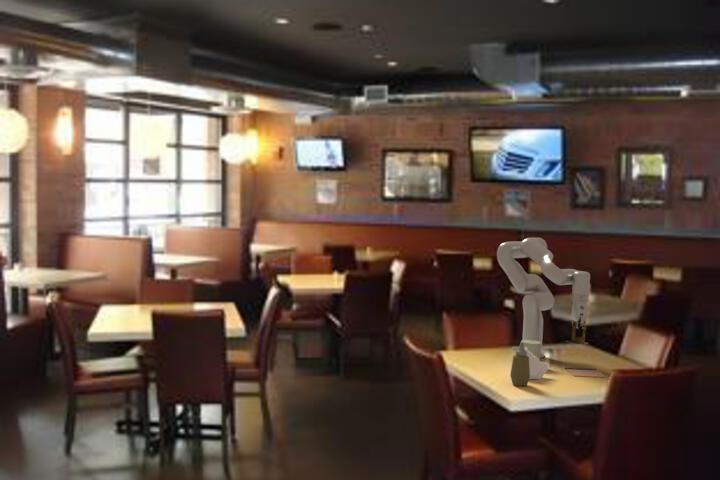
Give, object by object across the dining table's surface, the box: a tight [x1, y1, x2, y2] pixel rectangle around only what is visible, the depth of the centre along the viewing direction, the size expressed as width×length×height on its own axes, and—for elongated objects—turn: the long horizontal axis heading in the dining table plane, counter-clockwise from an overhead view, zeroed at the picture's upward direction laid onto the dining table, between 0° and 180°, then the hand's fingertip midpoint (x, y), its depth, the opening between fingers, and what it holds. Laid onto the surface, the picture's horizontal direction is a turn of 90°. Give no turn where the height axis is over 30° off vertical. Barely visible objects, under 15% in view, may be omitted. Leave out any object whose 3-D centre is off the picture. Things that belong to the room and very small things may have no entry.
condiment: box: [565, 321, 589, 346], centre depth 366 cm, size 7×8×12 cm
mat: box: [566, 369, 606, 378], centre depth 351 cm, size 14×12×1 cm
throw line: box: [565, 366, 597, 370], centre depth 359 cm, size 14×2×1 cm, turn 90°
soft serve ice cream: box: [524, 347, 549, 381], centre depth 339 cm, size 12×15×14 cm
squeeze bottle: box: [509, 341, 531, 387], centre depth 325 cm, size 8×8×18 cm
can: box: [520, 339, 541, 361], centre depth 362 cm, size 9×9×12 cm
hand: (576, 335), depth 367 cm, fingers closed on condiment, 6 cm apart
